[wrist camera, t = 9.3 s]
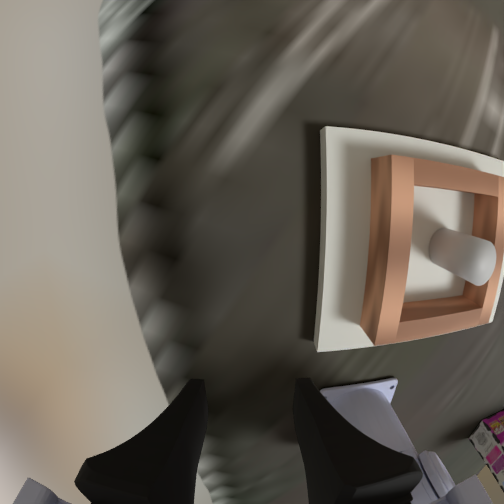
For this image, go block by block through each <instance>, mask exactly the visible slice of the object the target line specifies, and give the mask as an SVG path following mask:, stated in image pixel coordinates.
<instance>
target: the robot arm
mask: <svg viewBox="0 0 504 504" xmlns="http://www.w3.org/2000/svg"><path fill="white" fill-rule="evenodd" d="M397 383H398V381H397V379H396V378H389V379H384V380H379V381H373V382H367V383H361V384H354V385H347V386H339V387H331V388H324V389H322V390H320V391H319V389H318V388H317V387H316V385H315V384H314V383H313V381H312V380H311V379H310V378H298V379H296V383H295V393H294V403H293V415H294V424H295V430H296V434H297V438H298V442H299V446H300V450H301V454H302V458H303V462H304V466H305V472H306V480H307V488H308V498H309V504H493V503H492V501H491V499H490V497H489V496H488V494H487V493H486V491H485V489H484V487H483V486H482V484H481V482H480V481H479V479H478V477H477V476H476V475H473V476H471V477H470V478H468V479H466V480H465V481H463V482H461V483H459V484H457V485H455V484H454V482H453V480H452V478H451V476H450V475H449V473H448V471H447V470H446V468H445V466H444V465H443V463H442V462H441V460H440V459H439V457H438V456H437V454H436V453H435V452H433V451H429V452H428V451H427V450H425V451H423V452H422V453H420V455H419V454H418V453H417V452H416V450H415V448H414V446H413V444H412V442H411V440H410V439H409V437H408V435H407V433H406V431H405V430H404V428H403V426H402V424H401V422H400V421H399V419H398V417H397V415H396V413H395V412H394V410H393V408H392V406H391V405H390V403H391V400H392V397H393V394H394V391H395V389H396V386H397ZM324 396H326V397H324ZM207 421H208V404H207V397H206V391H205V384H204V380H200V379H190V380H189V381H188V382H187V384H186V385H185V386H184V388H183V389H182V390H181V392H180V393H179V394H178V395H177V397H176V398H175V399H174V400H173V401H172V403H171V404H170V405H169V406H168V407H167V408H166V409H165V410H164V411H163V412H162V413H161V414H160V415H159V416H158V417H157V418H156V419H155V420H154V421H153V422H152V423H151V424H150V425H148V426H147V427H146V428H145V429H143V430H142V431H141V432H139V433H138V434H137V435H135V436H134V437H132V438H131V439H129V440H128V441H126V442H124V443H122V444H121V445H119V446H117V447H115V448H113V449H111V450H109V451H106V452H104V453H101V454H99V455H96V456H93V457H90V458H87V459H86V460H85V462H84V463H83V465H82V467H81V469H80V471H79V473H78V475H77V477H76V479H75V481H74V482H75V485H76V487H77V488H78V489H79V490H80V492H81V493H82V494H83V495H84V496H85V497H86V498H87V499H88V500H89V501H90V502H91V504H194V493H195V483H196V474H197V468H198V463H199V459H200V454H201V450H202V446H203V442H204V438H205V433H206V429H207ZM13 504H71V503H68V502H66V501H64V500H62V499H60V498H58V497H57V496H56V495H55V494H54V493H53V492H52V491H51V490H50V489H48V488H47V487H45V486H44V485H42V484H40V483H38V482H36V481H34V480H33V479H31V478H27V480H26V482H25V484H24V485H23V487H22V489H21V490H20V492H19V494H18V496H17V497H16V499H15V501H14V503H13Z"/></svg>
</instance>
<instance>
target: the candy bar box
mask: <svg viewBox="0 0 504 504" xmlns="http://www.w3.org/2000/svg"><path fill="white" fill-rule="evenodd" d="M469 440H470V441H471V443H472V444H473V446H474V447H475V448H476V450H477V451H478V453H479V454H480V456H481V457H482V459H483V460H484V462H485V463H486V465H487V466H488V468H489V469H490V471H491V473H492V474H493V476H494V477H495V479H496V480H497V482H498V484H499V485H500V487H501V489H502V490H503V492H504V410H502V411H500V412H498V413H496V414H494V415H492V416H490V417H488V418H486V419H483V420H482V421H481V422H480V423H479V425H478V426H477V427H476V429H475V430H474V432H473V433H472V434H471V436H470V437H469Z"/></svg>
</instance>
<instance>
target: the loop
mask: <svg viewBox="0 0 504 504" xmlns="http://www.w3.org/2000/svg"><path fill="white" fill-rule="evenodd" d="M414 186H421V187H429V188H438V189H445V190H453V191H460V192H466V193H473V194H474V215H473V229H472V236H475V237H478V238H481V239H484V240H487V241H490V242H492V244H493V245H494V247H495V250H496V264H495V268H494V271H493V273H492V275H491V277H490V279H489V280H488V281H487V282H486V283H485V284H483V285H481V286H476V285H474V284H472V283H471V282H469V281H467V280H465V285H464V290H463V295H460V296H453V297H446V298H438V299H430V300H422V301H413V302H404V303H403V300H404V294H405V288H406V281H407V274H408V267H409V258H410V249H411V238H412V225H413V206H414ZM503 256H504V177H502V176H498V175H494V174H491V173H487V172H483V171H479V170H474V169H470V168H466V167H461V166H456V165H452V164H447V163H441V162H436V161H431V160H425V159H419V158H412V157H406V156H398V155H386V156H381V157H376V158H371V215H370V235H369V250H368V262H367V273H366V282H365V291H364V299H363V307H362V314H361V321H360V327H361V328H362V329H363V331H364V332H365V334H366V335H367V336H368V338H369V339H370V340H371V342H372V343H373V345H374V346H377V345H384V344H391V343H397V342H404V341H409V340H415V339H420V338H426V337H431V336H436V335H440V334H445V333H450V332H454V331H458V330H463V329H467V328H471V327H475V326H478V325H482V324H486V323H489V319H490V316H491V312H492V309H493V305H494V301H495V297H496V292H497V288H498V283H499V279H500V273H501V268H502V262H503Z"/></svg>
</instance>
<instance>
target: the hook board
mask: <svg viewBox="0 0 504 504" xmlns="http://www.w3.org/2000/svg"><path fill="white" fill-rule="evenodd" d="M320 145H321V232H320V259H319V279H318V295H317V308H316V321H315V332H314V345H315V347H316V350H317V352H325V351H336V350H346V349H355V348H363V347H371V346H374V345H373V343H372V342H371V340H370V339H369V338H368V336H367V335H366V334H365V332H364V331H363V329H362V328H361V327H360V321H361V314H362V307H363V299H364V291H365V282H366V273H367V262H368V250H369V235H370V215H371V158H376V157H381V156H386V155H398V156H406V157H412V158H419V159H425V160H431V161H436V162H441V163H447V164H452V165H456V166H461V167H466V168H470V169H474V170H479V171H483V172H487V173H491V174H494V175H498V176H502V177H504V161H501V160H499V159H495V158H492V157H489V156H486V155H483V154H479V153H476V152H473V151H469V150H465V149H462V148H458V147H454V146H450V145H446V144H442V143H437V142H433V141H428V140H423V139H418V138H413V137H408V136H402V135H396V134H390V133H383V132H376V131H369V130H361V129H352V128H342V127H330V126H325V127H324V128H322V129H321V130H320ZM473 215H474V194H473V193H466V192H460V191H453V190H445V189H438V188H429V187H421V186H414V206H413V225H412V238H411V249H410V258H409V267H408V274H407V281H406V288H405V294H404V300H403V303H404V302H413V301H422V300H430V299H438V298H446V297H453V296H460V295H463V290H464V285H465V280H467V281H469V282H471V283H472V284H474V285H476V286H481V285H483V284H485V283H486V282H487V281H488V280H489V279H490V277H491V275H492V273H493V271H494V268H495V264H496V250H495V247H494V245H493V244H492V242H490V241H487V240H484V239H481V238H478V237H475V236H472V229H473ZM503 276H504V256H503V262H502V268H501V273H500V279H499V283H498V288H497V292H496V297H495V301H494V305H493V309H492V312H491V316H490V319H489V323H490V322H492V321H493V318H494V314H495V311H496V307H497V303H498V299H499V295H500V291H501V286H502V281H503ZM482 325H483V324H482ZM478 326H479V325H478ZM458 331H459V330H458ZM454 332H455V331H454ZM445 334H446V333H445ZM440 335H441V334H440ZM436 336H437V335H436ZM431 337H432V336H431ZM426 338H427V337H426ZM420 339H421V338H420ZM415 340H416V339H415ZM409 341H410V340H409ZM404 342H405V341H404ZM397 343H398V342H397ZM391 344H392V343H391ZM384 345H386V344H384ZM377 346H379V345H377Z"/></svg>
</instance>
